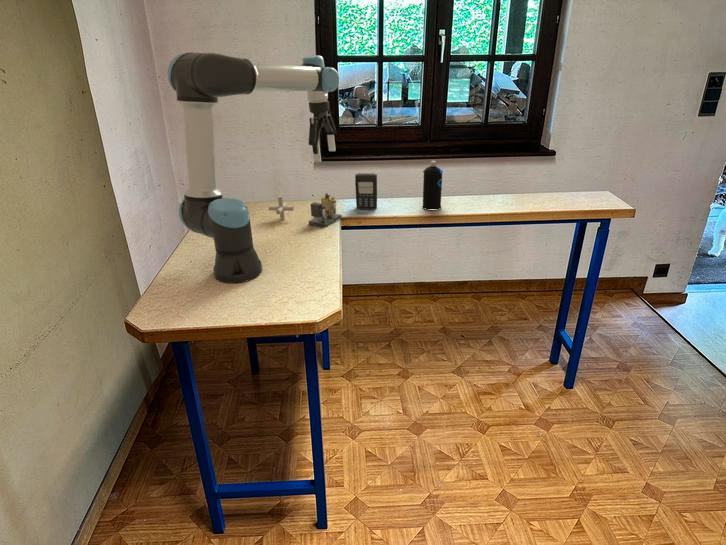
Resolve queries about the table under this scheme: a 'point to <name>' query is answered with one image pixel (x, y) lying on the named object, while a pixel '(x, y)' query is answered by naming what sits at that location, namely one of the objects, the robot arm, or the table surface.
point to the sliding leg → (329, 203)
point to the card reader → (366, 190)
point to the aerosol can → (432, 187)
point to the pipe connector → (281, 208)
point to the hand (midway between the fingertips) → (325, 156)
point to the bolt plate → (337, 216)
